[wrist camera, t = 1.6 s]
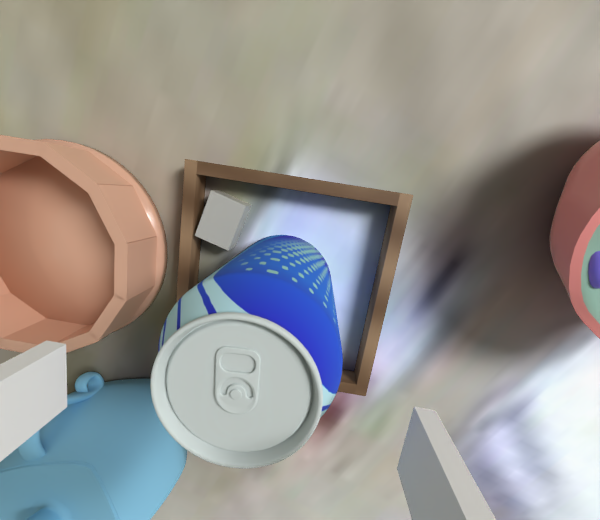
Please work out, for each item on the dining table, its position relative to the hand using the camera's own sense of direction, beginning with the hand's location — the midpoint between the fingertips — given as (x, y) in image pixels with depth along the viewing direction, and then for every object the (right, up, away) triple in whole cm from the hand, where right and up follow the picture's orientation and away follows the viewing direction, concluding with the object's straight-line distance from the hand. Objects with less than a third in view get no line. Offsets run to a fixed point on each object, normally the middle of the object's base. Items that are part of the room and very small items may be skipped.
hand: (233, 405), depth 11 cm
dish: (-19, +7, +16) cm, 26 cm away
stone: (-4, +9, +15) cm, 18 cm away
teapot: (-15, -13, +21) cm, 28 cm away
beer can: (+1, +4, +16) cm, 16 cm away
